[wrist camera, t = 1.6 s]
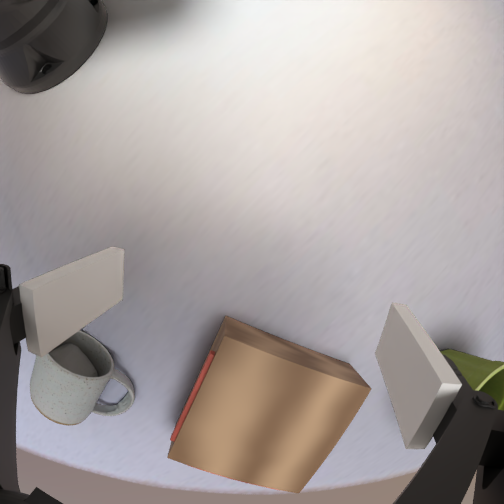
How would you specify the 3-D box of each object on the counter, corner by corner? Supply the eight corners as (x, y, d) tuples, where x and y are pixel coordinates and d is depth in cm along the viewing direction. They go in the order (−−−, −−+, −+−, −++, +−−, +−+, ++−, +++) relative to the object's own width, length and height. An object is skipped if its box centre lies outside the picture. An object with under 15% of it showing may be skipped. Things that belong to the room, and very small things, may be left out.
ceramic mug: (45, 372, 30) (13, 401, 22) (65, 316, 29) (28, 339, 22) (122, 421, 31) (103, 461, 23) (149, 370, 31) (131, 407, 23)
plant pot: (382, 413, 32) (427, 467, 21) (424, 321, 32) (488, 353, 21) (447, 419, 33) (493, 460, 22) (484, 339, 33) (542, 366, 22)
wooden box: (171, 425, 31) (162, 458, 25) (221, 313, 30) (219, 333, 24) (288, 462, 32) (296, 495, 26) (349, 363, 32) (371, 388, 26)
